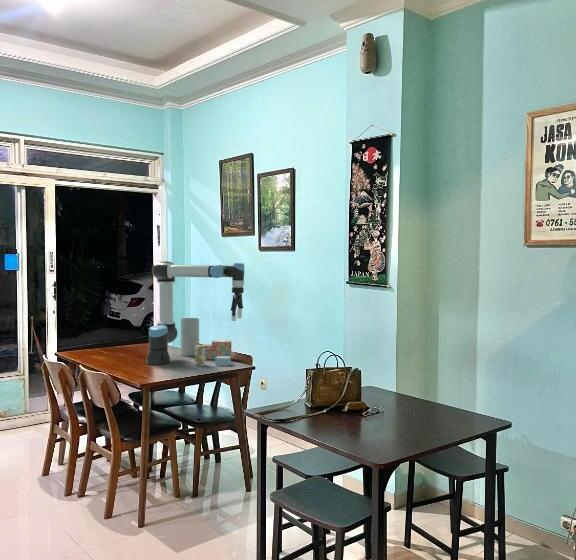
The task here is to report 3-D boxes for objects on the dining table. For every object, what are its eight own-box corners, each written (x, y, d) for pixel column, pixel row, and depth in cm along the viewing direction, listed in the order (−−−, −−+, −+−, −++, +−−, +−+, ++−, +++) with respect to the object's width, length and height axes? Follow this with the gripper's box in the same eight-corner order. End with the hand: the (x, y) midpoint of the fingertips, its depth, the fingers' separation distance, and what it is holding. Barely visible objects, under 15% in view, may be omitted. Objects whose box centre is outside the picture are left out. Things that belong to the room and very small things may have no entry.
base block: (215, 366, 361) (215, 358, 361) (218, 363, 369) (218, 355, 368) (227, 366, 360) (227, 358, 360) (230, 364, 368) (230, 356, 368)
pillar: (194, 365, 361) (194, 346, 360) (197, 364, 366) (197, 345, 365) (202, 365, 360) (202, 346, 360) (204, 364, 365) (204, 345, 365)
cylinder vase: (199, 355, 396) (199, 319, 395) (181, 356, 393) (181, 320, 392) (198, 353, 408) (198, 317, 407) (180, 353, 405) (180, 318, 404)
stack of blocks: (197, 359, 383) (197, 341, 383) (200, 357, 389) (200, 339, 389) (229, 360, 381) (229, 341, 381) (231, 358, 387) (231, 340, 387)
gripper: (238, 288, 360) (237, 322, 361) (248, 286, 384) (247, 317, 385) (226, 287, 361) (225, 321, 362) (237, 285, 385) (236, 317, 387)
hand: (236, 319), depth 374 cm, fingers open, 13 cm apart
